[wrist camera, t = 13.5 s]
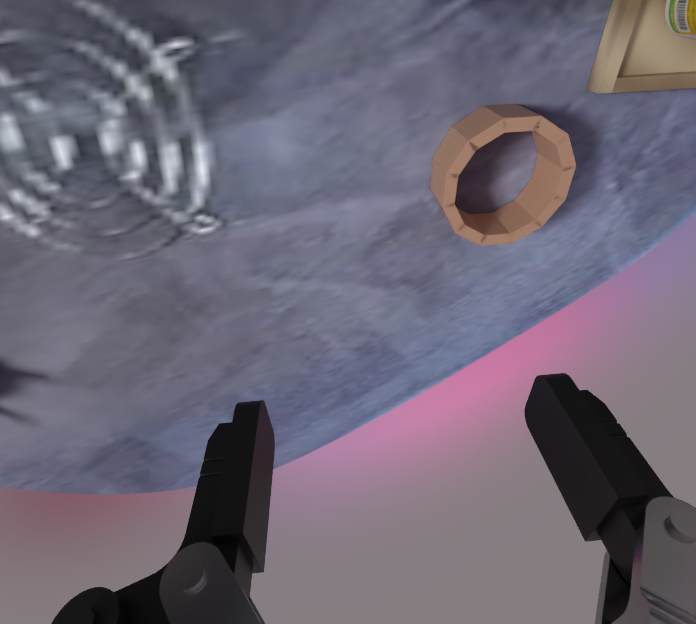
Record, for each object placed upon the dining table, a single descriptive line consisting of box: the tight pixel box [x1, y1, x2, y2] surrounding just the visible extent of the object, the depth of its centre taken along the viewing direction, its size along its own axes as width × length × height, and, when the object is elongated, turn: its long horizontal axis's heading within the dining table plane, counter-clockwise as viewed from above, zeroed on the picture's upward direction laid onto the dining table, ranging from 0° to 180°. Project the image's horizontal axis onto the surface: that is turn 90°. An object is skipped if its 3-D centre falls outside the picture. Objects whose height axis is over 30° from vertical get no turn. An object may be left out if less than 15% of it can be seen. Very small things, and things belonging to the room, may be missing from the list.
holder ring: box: [430, 104, 576, 246], centre depth 34 cm, size 10×10×4 cm
